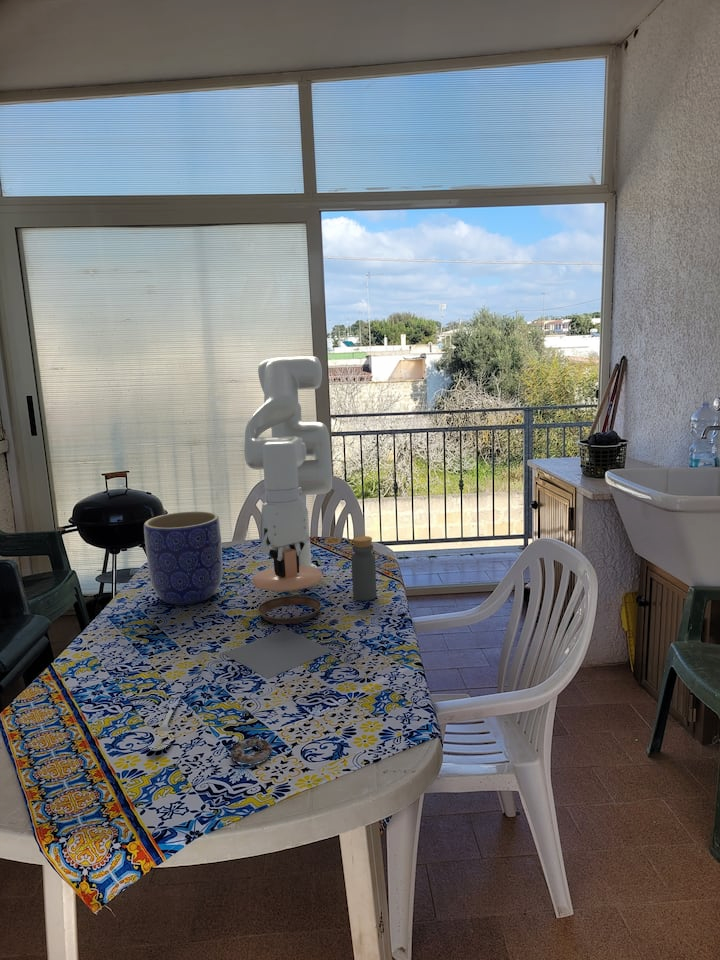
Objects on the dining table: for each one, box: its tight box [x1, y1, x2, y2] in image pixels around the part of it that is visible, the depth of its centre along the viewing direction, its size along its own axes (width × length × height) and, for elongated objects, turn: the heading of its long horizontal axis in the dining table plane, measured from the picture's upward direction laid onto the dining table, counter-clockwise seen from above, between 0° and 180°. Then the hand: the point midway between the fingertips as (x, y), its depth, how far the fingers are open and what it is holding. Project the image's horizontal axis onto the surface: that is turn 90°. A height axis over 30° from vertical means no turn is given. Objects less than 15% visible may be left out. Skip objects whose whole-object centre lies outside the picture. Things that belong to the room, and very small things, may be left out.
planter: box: [143, 510, 223, 606], centre depth 166 cm, size 18×18×21 cm
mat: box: [222, 629, 335, 680], centre depth 132 cm, size 16×16×1 cm
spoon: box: [148, 711, 174, 752], centre depth 109 cm, size 4×21×2 cm, turn 6°
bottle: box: [350, 535, 378, 602], centre depth 161 cm, size 6×6×15 cm
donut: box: [230, 736, 273, 764], centre depth 98 cm, size 8×8×2 cm
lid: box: [252, 548, 324, 592], centre depth 150 cm, size 16×16×7 cm
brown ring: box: [257, 595, 323, 625], centre depth 152 cm, size 15×15×3 cm
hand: (287, 573), depth 150 cm, fingers closed on lid, 3 cm apart
